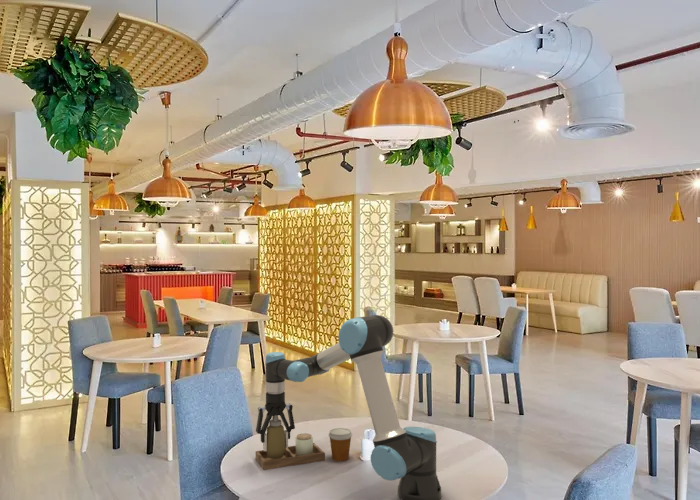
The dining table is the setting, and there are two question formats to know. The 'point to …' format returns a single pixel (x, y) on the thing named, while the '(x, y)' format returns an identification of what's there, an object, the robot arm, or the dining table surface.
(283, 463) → the caddy
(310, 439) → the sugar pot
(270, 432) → the squeeze bottle
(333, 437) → the disposable coffee cup
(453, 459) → the dining table surface
